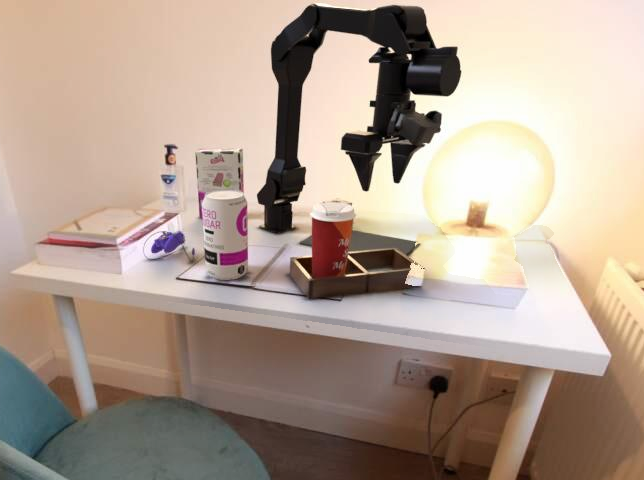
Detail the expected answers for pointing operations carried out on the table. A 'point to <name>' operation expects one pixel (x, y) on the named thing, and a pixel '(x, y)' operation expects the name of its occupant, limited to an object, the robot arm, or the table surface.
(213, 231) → the supplement can
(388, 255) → the divided tray
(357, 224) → the table surface
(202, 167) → the candy bar box
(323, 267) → the paper cup
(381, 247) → the desk mat
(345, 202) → the dice cube
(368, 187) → the robot arm
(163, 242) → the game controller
